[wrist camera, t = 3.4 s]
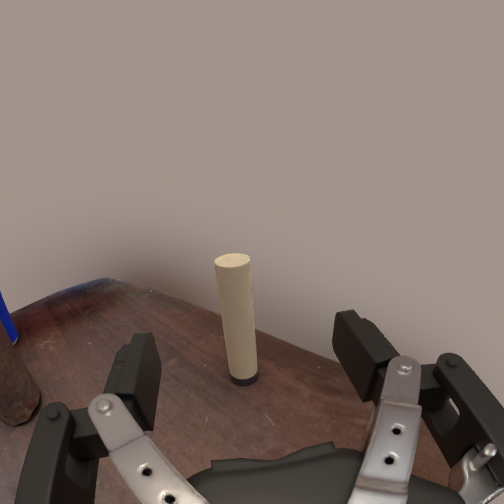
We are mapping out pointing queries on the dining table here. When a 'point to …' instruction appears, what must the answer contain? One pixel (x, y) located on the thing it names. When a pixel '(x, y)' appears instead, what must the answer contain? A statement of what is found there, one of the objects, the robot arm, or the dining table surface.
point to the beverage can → (7, 322)
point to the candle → (15, 384)
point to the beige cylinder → (237, 316)
